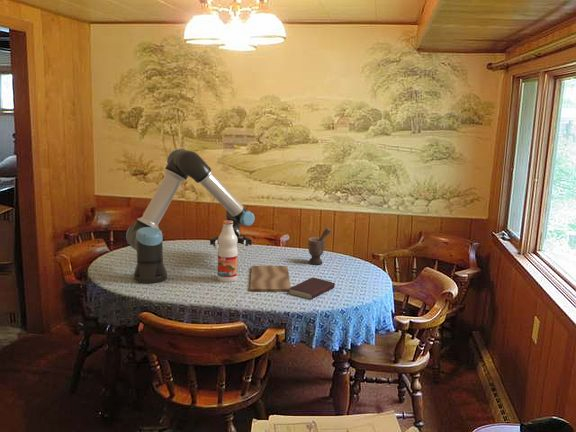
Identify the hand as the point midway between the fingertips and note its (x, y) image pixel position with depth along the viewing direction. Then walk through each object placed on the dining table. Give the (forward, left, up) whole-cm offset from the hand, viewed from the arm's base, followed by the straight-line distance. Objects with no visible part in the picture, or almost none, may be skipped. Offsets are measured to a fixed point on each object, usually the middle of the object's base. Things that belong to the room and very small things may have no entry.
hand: (230, 246), depth 253 cm
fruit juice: (-1, -5, -15) cm, 16 cm away
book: (+38, -20, -16) cm, 45 cm away
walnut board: (+19, -4, -15) cm, 25 cm away
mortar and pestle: (+45, +23, -15) cm, 53 cm away
